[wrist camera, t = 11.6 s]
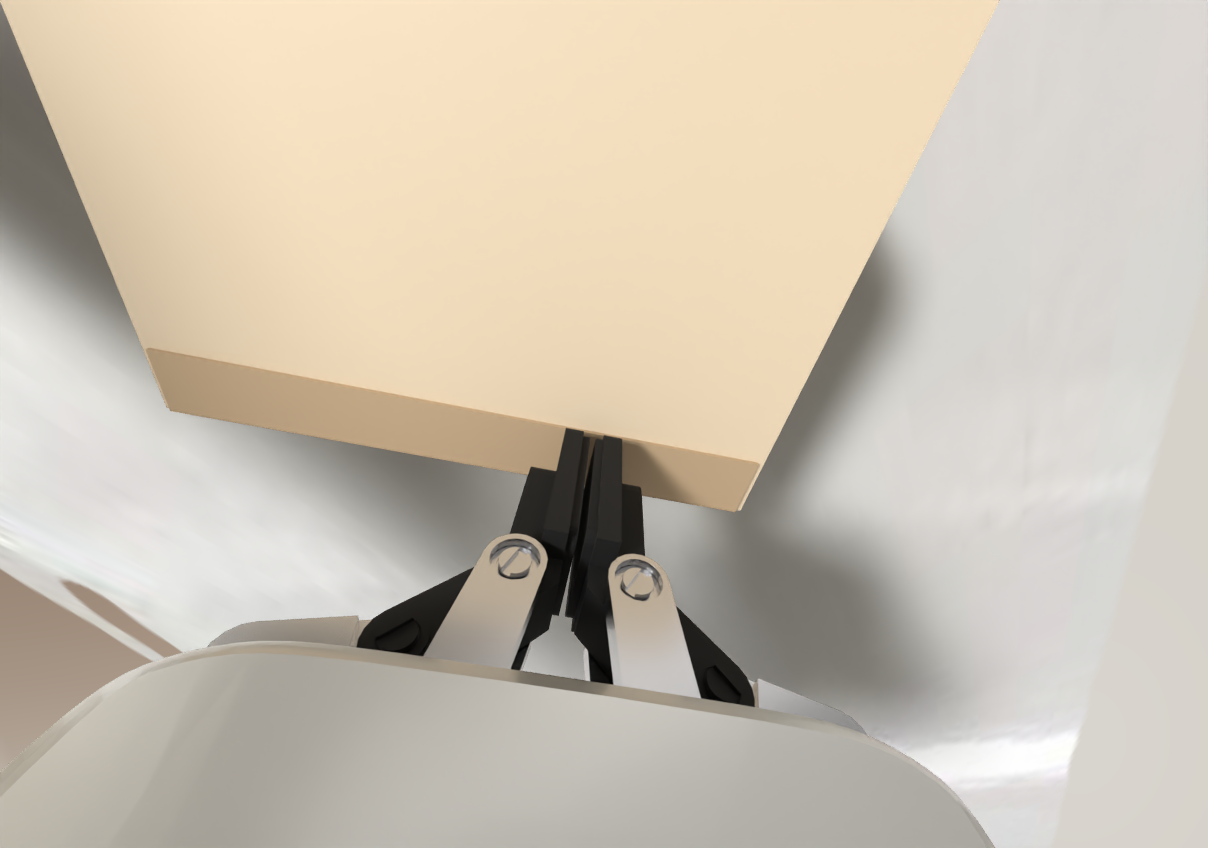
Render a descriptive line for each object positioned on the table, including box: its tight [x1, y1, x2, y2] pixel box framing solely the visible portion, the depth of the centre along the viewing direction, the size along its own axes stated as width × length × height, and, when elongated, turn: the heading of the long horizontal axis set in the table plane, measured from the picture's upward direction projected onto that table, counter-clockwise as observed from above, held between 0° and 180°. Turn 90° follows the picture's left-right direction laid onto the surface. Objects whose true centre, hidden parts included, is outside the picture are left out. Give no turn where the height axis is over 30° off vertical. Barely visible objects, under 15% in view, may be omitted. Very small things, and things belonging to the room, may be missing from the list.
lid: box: [0, 0, 1000, 512], centre depth 10 cm, size 18×13×1 cm
